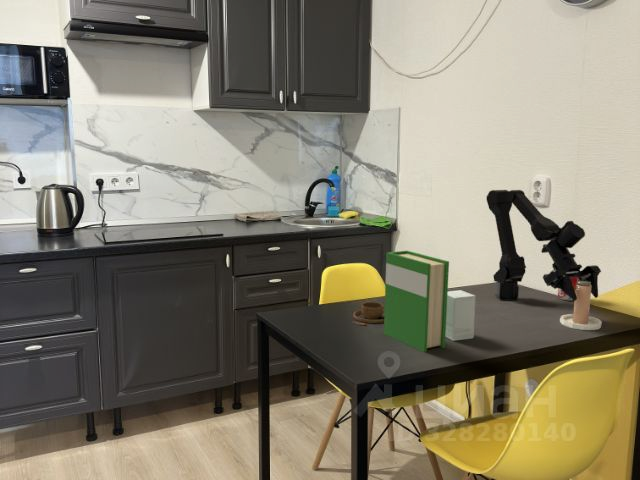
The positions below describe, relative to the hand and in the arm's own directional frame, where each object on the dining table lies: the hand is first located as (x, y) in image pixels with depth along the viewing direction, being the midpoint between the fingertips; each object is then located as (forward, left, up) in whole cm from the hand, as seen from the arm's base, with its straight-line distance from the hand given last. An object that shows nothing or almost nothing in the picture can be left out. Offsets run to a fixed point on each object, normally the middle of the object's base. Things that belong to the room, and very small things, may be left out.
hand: (586, 298), depth 187 cm
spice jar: (-1, +1, -8) cm, 8 cm away
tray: (-1, +1, -9) cm, 9 cm away
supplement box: (-42, -11, -9) cm, 44 cm away
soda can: (+8, +31, -9) cm, 33 cm away
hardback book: (-55, -15, -9) cm, 58 cm away
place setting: (-62, +4, -9) cm, 62 cm away
